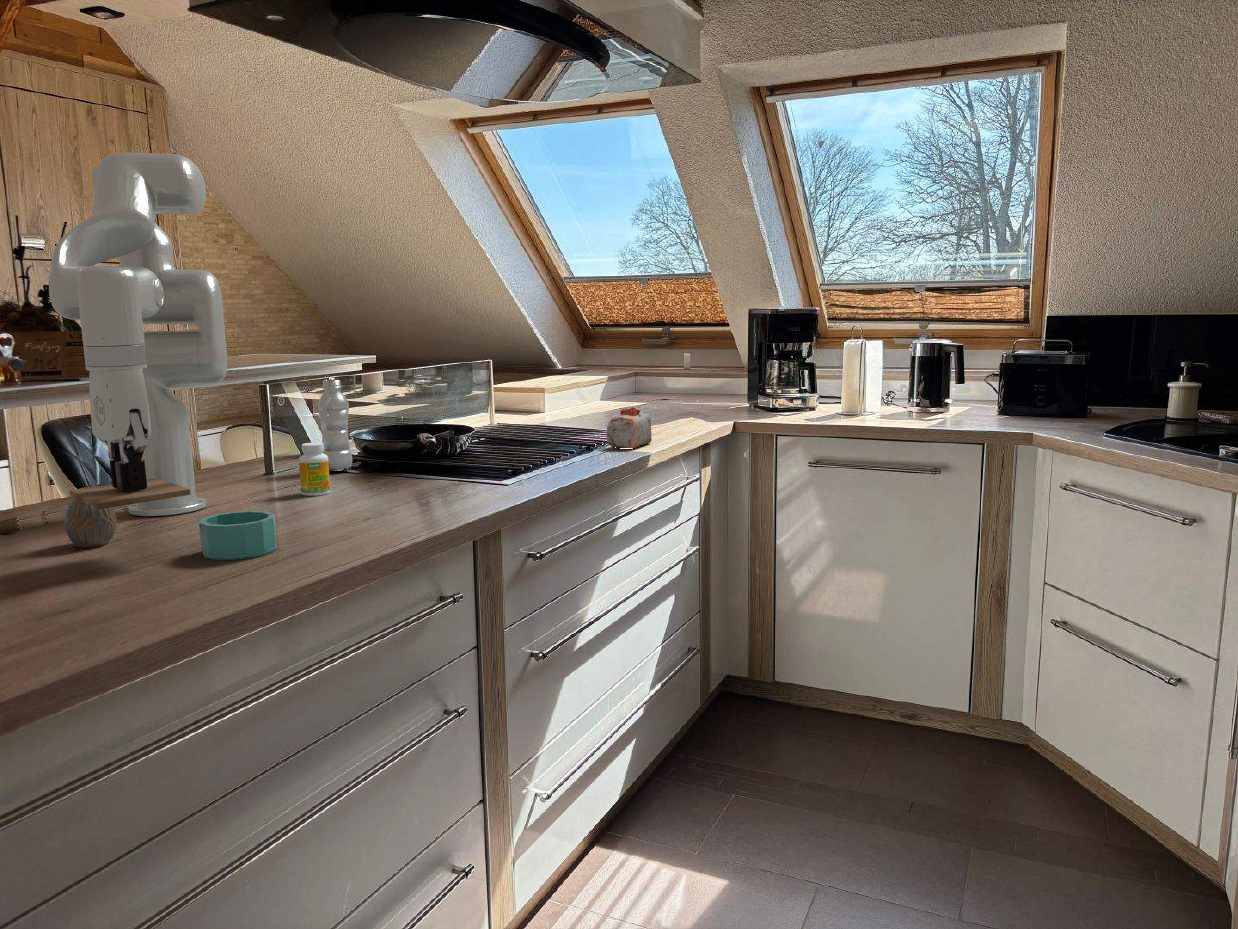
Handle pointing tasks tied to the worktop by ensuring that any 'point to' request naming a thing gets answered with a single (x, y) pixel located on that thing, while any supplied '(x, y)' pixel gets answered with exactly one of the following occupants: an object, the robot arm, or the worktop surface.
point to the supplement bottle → (314, 470)
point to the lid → (128, 493)
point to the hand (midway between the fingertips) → (129, 487)
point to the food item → (629, 429)
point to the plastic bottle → (335, 425)
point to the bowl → (238, 535)
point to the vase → (89, 524)
